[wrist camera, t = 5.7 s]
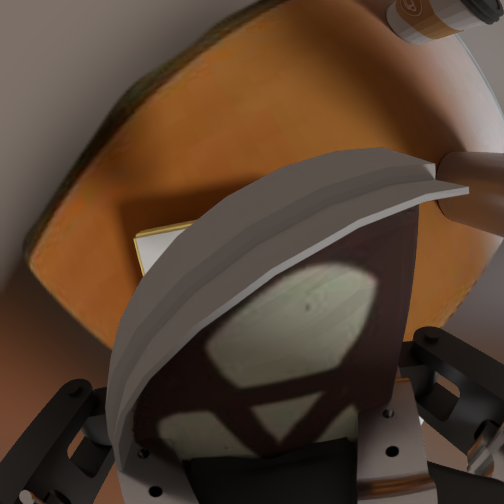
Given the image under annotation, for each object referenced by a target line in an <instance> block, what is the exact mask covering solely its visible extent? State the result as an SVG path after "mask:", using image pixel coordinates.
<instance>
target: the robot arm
mask: <svg viewBox="0 0 504 504" xmlns="http://www.w3.org/2000/svg"><path fill="white" fill-rule="evenodd" d="M436 180H438V181H444V182H449V183H454V184H458V185H463V186H468V187H469V194H464V195H458V196H453V197H447V198H441V199H438V203H439V206H440V208H441V210H442V212H443V214H444V215H445V216H446V217H447V218H448V219H450V220H452V221H455V222H458V223H461V224H464V225H468V226H471V227H474V228H477V229H480V230H483V231H486V232H489V233H492V234H495V235H498V236H500V237H503V238H504V153H489V152H450V153H448V154H447V155H446V156H445V157H444V158H443V159H442V161H441V163H440V165H439V168H438V171H437V177H436ZM439 374H440V375H442V376H443V377H445V378H446V379H448V380H449V381H451V382H452V383H454V384H455V385H456V386H457V387H458V388H459V391H460V398H458V397H456V396H455V395H454V394H452V393H451V392H450V391H448V390H447V389H445V388H444V387H443V386H441V385H440V384H438V383H437V382H436V381H437V378H438V375H439ZM106 394H107V387H103V388H99V389H93V387H92V385H91V384H90V382H89V381H87V380H85V379H75V380H71V381H69V382H67V383H66V384H64V385H63V386H62V387H61V388H60V389H59V391H58V392H57V393H56V394H55V395H54V396H53V398H52V399H51V400H50V401H49V402H48V403H47V404H46V406H45V407H44V408H43V409H42V410H41V412H40V413H39V414H38V415H37V417H36V418H35V419H34V420H33V421H32V423H31V424H30V425H29V426H28V427H27V429H26V430H25V431H24V433H23V434H22V435H21V436H20V438H19V439H18V440H17V441H16V443H15V444H14V445H13V447H12V448H11V449H10V451H9V452H8V453H7V454H6V456H5V457H4V459H3V460H2V461H1V462H0V504H93V502H94V500H95V498H96V496H97V494H98V492H99V490H100V488H101V486H102V484H103V483H104V481H105V479H106V477H107V475H108V473H109V471H110V469H111V467H112V465H113V464H114V462H116V460H115V454H114V447H113V446H112V444H111V441H110V439H109V436H108V430H107V421H106V410H105V406H106ZM419 416H420V417H421V418H422V419H423V420H424V421H425V422H427V423H428V424H429V425H430V426H431V427H433V428H434V429H435V430H436V431H437V432H439V433H440V434H441V435H442V436H443V437H445V438H446V439H447V440H448V441H449V442H451V443H452V444H453V445H454V446H456V447H457V448H458V449H459V450H460V451H462V452H463V453H464V454H465V455H466V456H467V461H468V466H467V472H464V471H459V470H456V469H453V468H449V467H446V466H442V465H439V464H436V463H432V462H429V461H427V459H426V453H425V446H424V440H423V435H422V429H421V424H420V419H419ZM79 430H81V431H82V432H83V434H84V435H85V437H84V438H83V440H82V441H81V443H80V444H79V446H78V447H77V449H76V451H75V452H74V454H73V455H72V457H71V458H70V459H69V458H68V454H67V449H68V447H69V445H70V443H71V442H72V440H73V439H74V438H75V436H76V434H77V433H78V432H79ZM116 467H117V466H116ZM117 472H118V477H119V482H120V486H121V490H122V494H123V498H124V502H125V504H504V365H503V364H502V363H500V362H498V361H497V360H495V359H493V358H491V357H490V356H488V355H486V354H484V353H483V352H481V351H479V350H478V349H476V348H474V347H472V346H471V345H469V344H467V343H465V342H464V341H462V340H460V339H458V338H456V337H455V336H453V335H451V334H449V333H448V332H446V331H444V330H442V329H440V328H437V327H431V326H428V327H422V328H419V329H418V330H416V331H415V333H414V336H413V340H412V341H407V342H402V347H401V351H400V356H399V362H398V368H397V373H396V378H395V383H394V388H393V394H392V399H391V400H390V401H388V402H386V403H383V404H381V405H378V406H375V407H372V408H369V409H366V410H363V411H360V412H358V414H357V419H356V424H355V428H354V442H349V441H348V439H347V437H343V438H339V439H334V440H329V441H323V442H317V443H309V444H307V445H304V446H302V447H300V448H298V449H295V450H293V451H291V452H288V453H286V454H284V455H281V456H279V457H276V458H273V459H250V458H238V457H217V458H197V459H191V469H187V470H186V468H185V466H184V463H183V461H182V459H181V456H180V453H179V451H178V450H177V448H176V446H175V445H174V443H173V442H172V440H171V438H162V437H161V438H147V439H143V440H139V441H133V440H132V443H131V446H130V449H129V452H128V455H127V458H126V462H125V465H124V468H123V470H122V471H119V470H118V469H117Z"/></svg>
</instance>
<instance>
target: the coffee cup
mask: <svg viewBox="0 0 504 504" xmlns="http://www.w3.org/2000/svg"><path fill="white" fill-rule="evenodd" d="M503 14H504V11H503V7H502V5H501V3H500V1H499V0H395V1H394V2H393V3H392V4H391V5H390V6H389V7H388V9H387V15H386V17H387V21H388V23H389V25H390V27H391V28H392V29H393V31H394V32H395V33H396V34H397V35H398V36H399V37H401V38H402V39H403V40H405V41H407V42H409V43H412V44H423V43H426V42H429V41H432V40H434V39H439V38H442V37H445V36H448V35H451V34H454V33H458V32H461V31H464V30H465V29H468V28H472V27H476V26H479V25H483V24H493V23H494V22H497V21H498V20H499V17H500V16H502V15H503Z"/></svg>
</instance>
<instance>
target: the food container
mask: <svg viewBox="0 0 504 504" xmlns="http://www.w3.org/2000/svg"><path fill="white" fill-rule="evenodd" d="M435 174H436V171H435V164H434V163H431V162H428V161H425V160H422V159H419V158H416V157H413V156H410V155H406V154H403V153H400V152H396V151H393V150H389V149H385V148H367V149H355V150H344V151H335V152H332V153H328V154H325V155H321V156H318V157H314V158H311V159H307V160H304V161H301V162H297V163H294V164H291V165H288V166H285V167H282V168H280V169H278V170H276V171H274V172H272V173H270V174H268V175H266V176H264V177H262V178H260V179H258V180H256V181H255V182H253V183H251V184H249V185H247V186H245V187H243V188H241V189H240V190H238V191H236V192H234V193H232V194H230V195H229V196H227V197H225V198H224V199H223V200H221V201H220V202H219V203H218V204H216V205H215V206H214V207H212V208H211V209H210V210H209V211H207V212H206V213H205V214H204V215H202V216H201V217H200V218H199V219H197V220H196V221H195V222H194V223H193V224H191V225H190V226H189V227H188V228H186V229H185V230H184V231H183V232H182V233H180V234H179V235H178V236H177V237H176V238H175V239H174V240H173V242H172V243H171V244H170V245H169V246H168V248H167V249H166V250H165V251H164V252H163V253H162V255H161V256H160V257H159V258H158V259H157V261H156V262H155V263H154V264H153V265H152V267H151V268H150V269H149V270H148V272H147V273H146V274H145V275H144V276H143V278H142V279H141V281H140V283H139V285H138V286H137V288H136V290H135V292H134V294H133V296H132V298H131V300H130V302H129V304H128V305H127V307H126V309H125V311H124V313H123V315H122V317H121V319H120V323H119V327H118V330H117V334H116V338H115V342H114V346H113V351H112V355H111V362H110V369H109V377H108V385H107V394H106V406H105V410H106V421H107V430H108V436H109V439H110V441H111V444H112V446H113V447H114V454H115V460H116V466H117V469H118V470H119V471H122V470H123V468H124V465H125V462H126V458H127V455H128V452H129V449H130V446H131V443H132V440H133V441H139V440H143V439H147V438H161V437H162V438H171V440H172V442H173V443H174V445H175V446H176V448H177V450H178V451H179V453H180V456H181V459H182V461H183V463H184V466H185V468H186V470H187V469H191V459H197V458H217V457H238V458H250V459H273V458H276V457H279V456H281V455H284V454H286V453H288V452H291V451H293V450H295V449H298V448H300V447H302V446H304V445H307V444H309V443H317V442H323V441H329V440H334V439H339V438H343V437H347V439H348V441H349V442H354V428H355V424H356V419H357V414H358V412H360V411H363V410H366V409H369V408H372V407H375V406H378V405H381V404H383V403H386V402H388V401H390V400H391V399H392V394H393V388H394V383H395V378H396V373H397V368H398V362H399V356H400V351H401V347H402V342H403V338H404V333H405V328H406V323H407V317H408V311H409V305H410V299H411V292H412V284H413V276H414V268H415V259H416V249H417V236H418V218H419V204H420V203H422V202H425V201H430V200H436V199H441V198H447V197H453V196H458V195H464V194H469V187H468V186H463V185H458V184H454V183H449V182H444V181H438V180H435Z"/></svg>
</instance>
